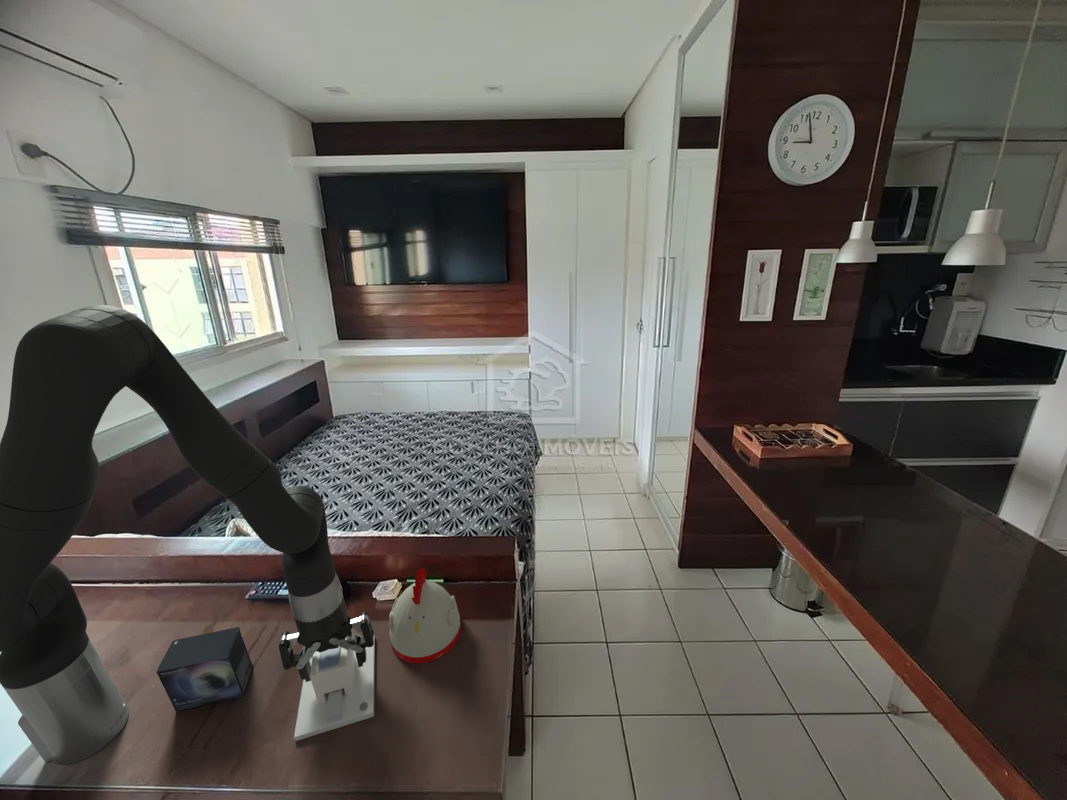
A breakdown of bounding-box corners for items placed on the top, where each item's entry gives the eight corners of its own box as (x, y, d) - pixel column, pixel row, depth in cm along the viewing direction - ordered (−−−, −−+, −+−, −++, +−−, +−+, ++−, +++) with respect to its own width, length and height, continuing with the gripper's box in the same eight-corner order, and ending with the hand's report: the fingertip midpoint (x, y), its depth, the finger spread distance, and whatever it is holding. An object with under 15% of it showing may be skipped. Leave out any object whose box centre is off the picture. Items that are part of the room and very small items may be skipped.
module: (318, 704, 75) (309, 674, 72) (322, 667, 81) (314, 639, 78) (353, 693, 76) (345, 664, 74) (355, 658, 83) (348, 630, 80)
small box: (173, 716, 74) (152, 673, 70) (190, 680, 80) (171, 638, 76) (243, 698, 77) (227, 656, 73) (254, 665, 83) (239, 624, 79)
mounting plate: (295, 741, 70) (291, 730, 69) (309, 654, 84) (306, 645, 83) (373, 716, 74) (371, 706, 73) (374, 637, 88) (372, 627, 87)
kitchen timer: (382, 664, 82) (369, 605, 77) (400, 605, 95) (390, 550, 90) (456, 661, 83) (449, 602, 77) (464, 603, 96) (459, 548, 90)
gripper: (263, 632, 66) (287, 703, 72) (363, 607, 70) (377, 676, 76) (273, 595, 73) (295, 662, 79) (364, 574, 77) (378, 640, 83)
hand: (335, 669), depth 78 cm, fingers open, 8 cm apart
